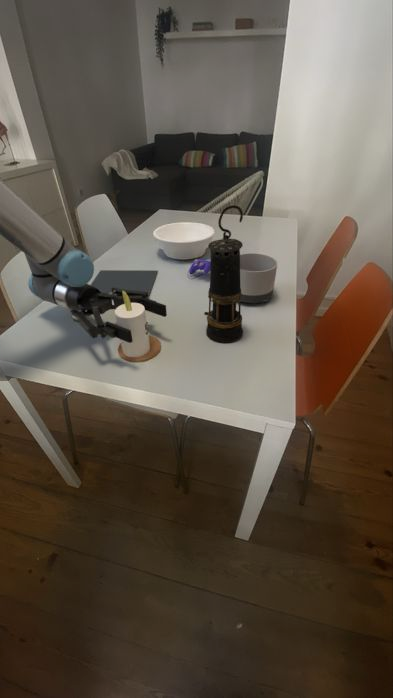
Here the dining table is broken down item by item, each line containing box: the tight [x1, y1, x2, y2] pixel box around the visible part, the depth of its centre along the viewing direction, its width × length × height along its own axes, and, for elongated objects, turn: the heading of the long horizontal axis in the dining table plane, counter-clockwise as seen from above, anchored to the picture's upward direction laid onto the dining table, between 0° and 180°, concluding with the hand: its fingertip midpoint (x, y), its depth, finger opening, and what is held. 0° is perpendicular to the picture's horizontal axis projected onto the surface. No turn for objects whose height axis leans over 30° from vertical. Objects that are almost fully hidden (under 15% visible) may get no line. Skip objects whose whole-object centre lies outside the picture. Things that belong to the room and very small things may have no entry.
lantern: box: [203, 204, 244, 344], centre depth 70 cm, size 9×9×30 cm
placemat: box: [90, 269, 159, 301], centre depth 101 cm, size 20×20×1 cm
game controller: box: [187, 258, 211, 280], centre depth 103 cm, size 10×8×10 cm
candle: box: [114, 291, 150, 358], centre depth 69 cm, size 6×6×15 cm
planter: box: [240, 252, 278, 304], centre depth 90 cm, size 13×13×10 cm
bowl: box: [152, 221, 216, 260], centre depth 118 cm, size 22×22×8 cm
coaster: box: [117, 334, 162, 363], centre depth 75 cm, size 10×10×1 cm
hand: (148, 323), depth 68 cm, fingers open, 11 cm apart
